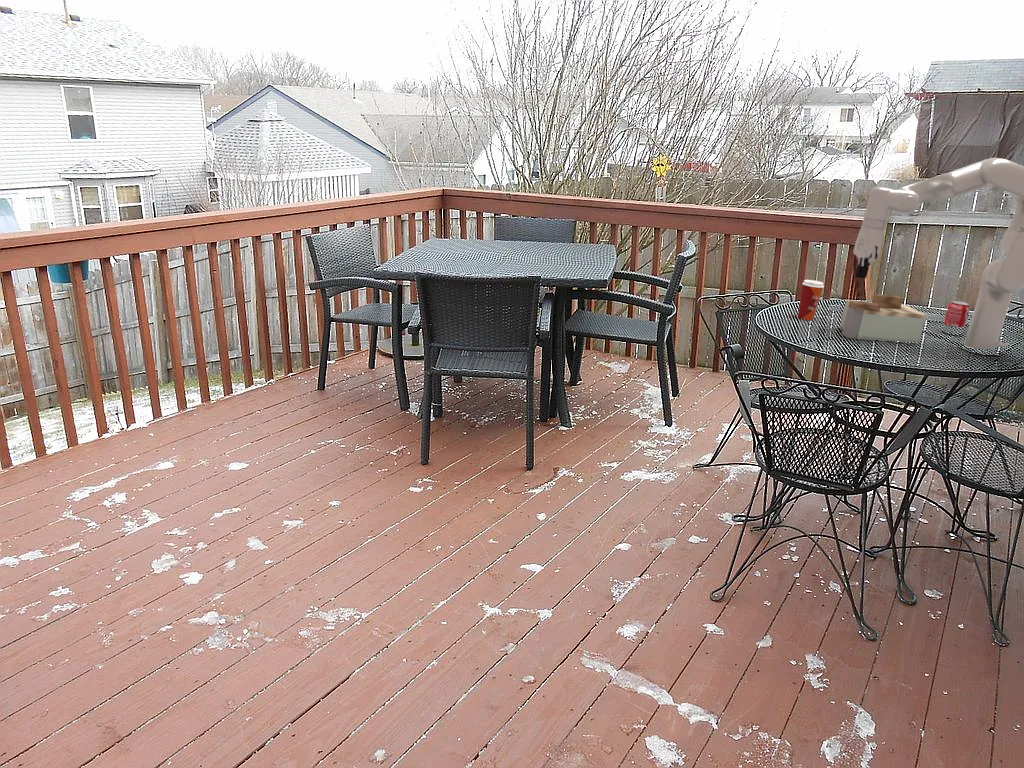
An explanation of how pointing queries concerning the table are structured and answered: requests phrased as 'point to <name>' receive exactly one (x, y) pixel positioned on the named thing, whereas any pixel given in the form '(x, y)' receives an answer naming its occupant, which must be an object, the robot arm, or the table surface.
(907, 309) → the lid
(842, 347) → the table surface
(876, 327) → the toolbox
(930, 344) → the table surface
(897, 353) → the table surface
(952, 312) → the soda can
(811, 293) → the paper cup
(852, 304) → the wooden block
